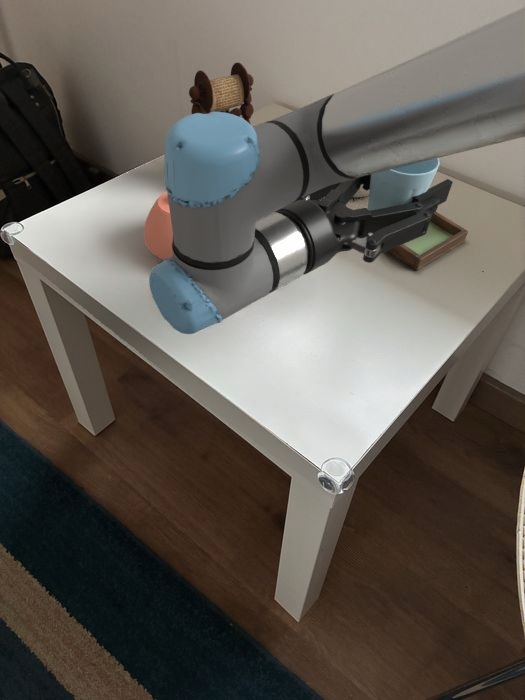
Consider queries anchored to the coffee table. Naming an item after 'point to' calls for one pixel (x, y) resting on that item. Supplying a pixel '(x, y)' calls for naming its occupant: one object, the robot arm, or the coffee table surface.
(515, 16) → the robot arm
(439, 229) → the wooden serving tray
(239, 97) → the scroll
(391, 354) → the coffee table surface
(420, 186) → the cup
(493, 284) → the coffee table surface
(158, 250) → the sugar bowl
